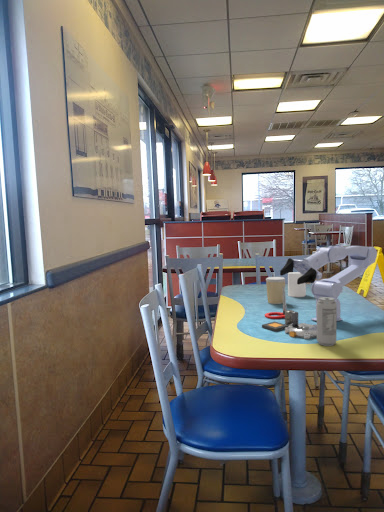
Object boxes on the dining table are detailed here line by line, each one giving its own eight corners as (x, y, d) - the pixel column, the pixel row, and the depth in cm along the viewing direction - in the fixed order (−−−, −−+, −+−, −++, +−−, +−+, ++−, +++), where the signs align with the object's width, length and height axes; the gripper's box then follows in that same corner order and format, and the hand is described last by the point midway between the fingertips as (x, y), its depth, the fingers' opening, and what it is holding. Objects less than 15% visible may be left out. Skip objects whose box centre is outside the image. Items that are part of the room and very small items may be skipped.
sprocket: (302, 324, 142) (302, 308, 141) (333, 333, 131) (333, 315, 130) (277, 331, 134) (276, 314, 134) (307, 341, 123) (307, 322, 122)
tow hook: (264, 320, 152) (287, 319, 150) (262, 289, 151) (285, 288, 149) (265, 314, 161) (287, 314, 159) (263, 285, 160) (285, 284, 157)
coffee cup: (284, 300, 185) (283, 276, 184) (287, 304, 176) (286, 279, 175) (265, 300, 186) (264, 276, 185) (267, 304, 177) (266, 279, 176)
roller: (289, 322, 147) (289, 309, 146) (296, 323, 144) (296, 311, 143) (283, 323, 145) (282, 311, 144) (290, 325, 142) (290, 312, 141)
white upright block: (304, 293, 199) (304, 271, 198) (307, 297, 190) (307, 274, 189) (287, 293, 200) (287, 271, 199) (289, 297, 191) (288, 274, 190)
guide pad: (274, 323, 145) (274, 321, 144) (288, 327, 139) (288, 325, 139) (261, 327, 141) (261, 324, 141) (275, 331, 135) (275, 328, 135)
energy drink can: (331, 340, 124) (331, 296, 122) (339, 346, 118) (339, 300, 116) (314, 340, 124) (313, 296, 122) (320, 347, 118) (320, 300, 116)
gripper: (297, 247, 143) (274, 260, 136) (330, 261, 133) (307, 276, 126) (296, 262, 147) (273, 276, 140) (328, 278, 137) (305, 293, 130)
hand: (289, 277), depth 133 cm, fingers open, 7 cm apart
